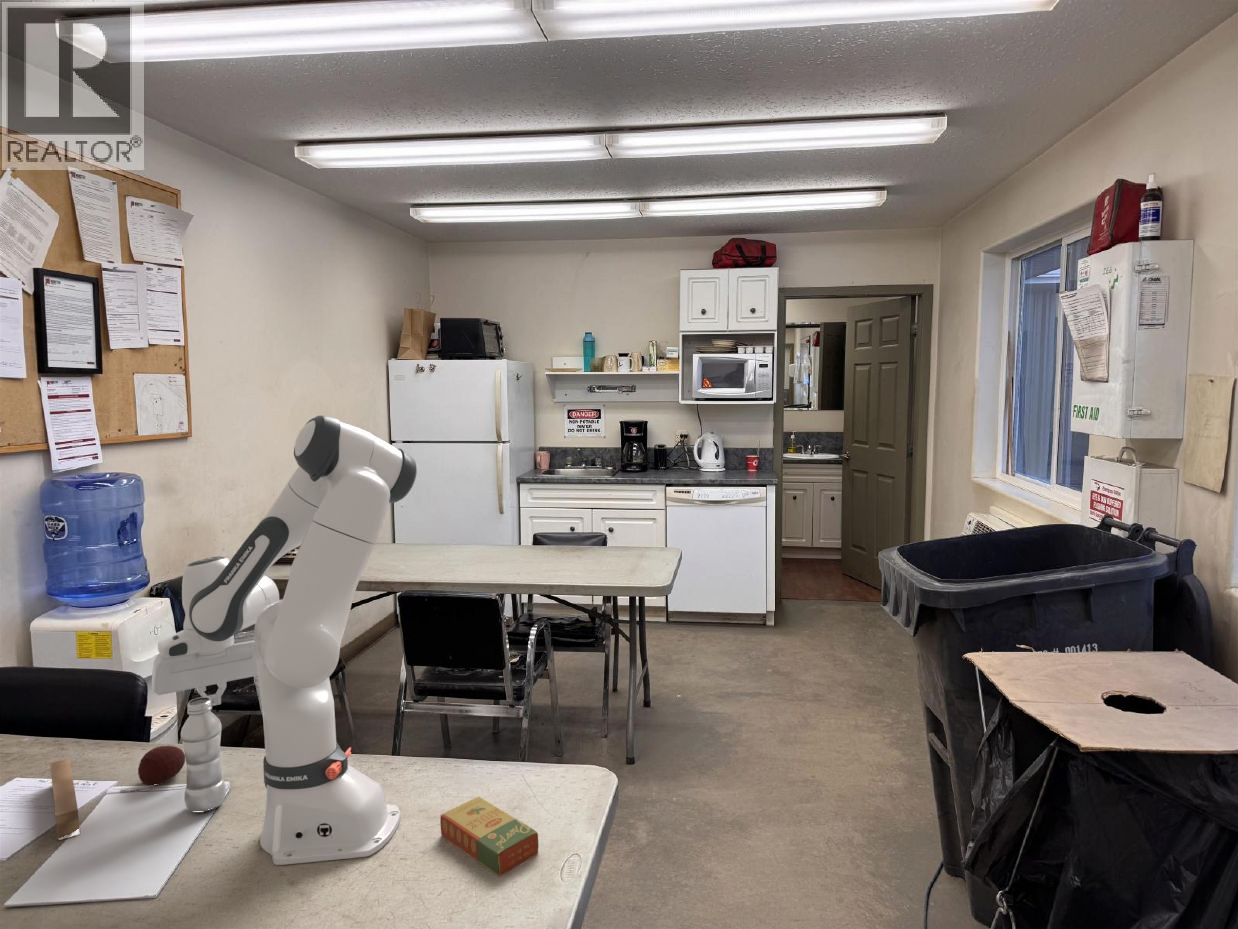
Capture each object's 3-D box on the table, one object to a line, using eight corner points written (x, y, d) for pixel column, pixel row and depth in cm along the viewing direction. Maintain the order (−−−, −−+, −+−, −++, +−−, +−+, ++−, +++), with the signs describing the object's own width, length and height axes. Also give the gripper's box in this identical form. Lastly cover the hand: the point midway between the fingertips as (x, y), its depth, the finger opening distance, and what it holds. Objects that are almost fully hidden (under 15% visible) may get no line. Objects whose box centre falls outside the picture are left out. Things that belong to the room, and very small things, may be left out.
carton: (480, 817, 133) (479, 794, 133) (540, 855, 122) (539, 829, 122) (440, 838, 127) (439, 813, 127) (498, 879, 116) (498, 853, 116)
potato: (196, 772, 151) (193, 738, 150) (160, 793, 142) (158, 758, 142) (166, 768, 152) (163, 734, 152) (129, 789, 144) (126, 754, 144)
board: (71, 780, 148) (69, 758, 148) (80, 834, 129) (77, 809, 129) (52, 785, 146) (50, 763, 146) (58, 841, 127) (56, 816, 127)
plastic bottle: (176, 814, 135) (168, 706, 133) (208, 795, 141) (200, 692, 140) (204, 820, 133) (196, 711, 131) (235, 800, 139) (228, 696, 138)
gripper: (262, 624, 160) (264, 688, 161) (148, 643, 148) (152, 712, 149) (269, 632, 155) (271, 697, 156) (152, 652, 143) (156, 723, 144)
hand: (212, 705), depth 152 cm, fingers closed
